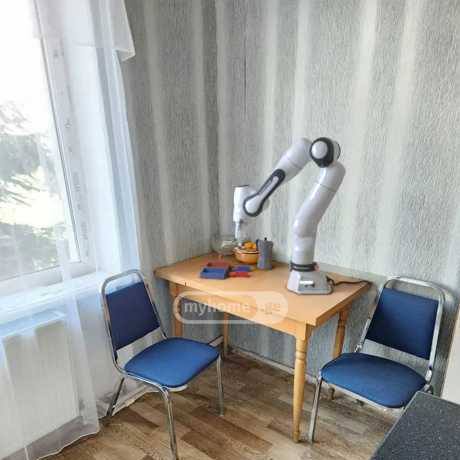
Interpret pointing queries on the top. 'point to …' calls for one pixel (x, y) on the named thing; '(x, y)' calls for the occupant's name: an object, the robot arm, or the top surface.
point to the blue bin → (213, 273)
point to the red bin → (218, 265)
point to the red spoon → (239, 274)
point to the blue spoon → (242, 268)
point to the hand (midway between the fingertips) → (241, 243)
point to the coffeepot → (264, 253)
